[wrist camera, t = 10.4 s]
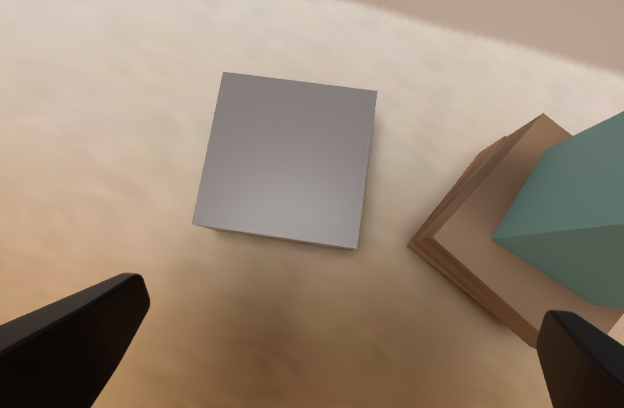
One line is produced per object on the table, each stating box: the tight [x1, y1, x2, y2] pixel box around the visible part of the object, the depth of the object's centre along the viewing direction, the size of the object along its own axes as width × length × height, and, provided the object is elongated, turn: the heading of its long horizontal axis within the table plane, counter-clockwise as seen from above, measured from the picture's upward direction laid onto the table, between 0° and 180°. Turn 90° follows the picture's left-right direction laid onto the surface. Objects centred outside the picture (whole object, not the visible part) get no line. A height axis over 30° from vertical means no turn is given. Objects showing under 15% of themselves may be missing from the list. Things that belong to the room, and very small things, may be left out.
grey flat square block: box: [192, 72, 377, 250], centre depth 21 cm, size 9×9×4 cm
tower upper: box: [413, 113, 624, 349], centre depth 17 cm, size 8×8×4 cm
